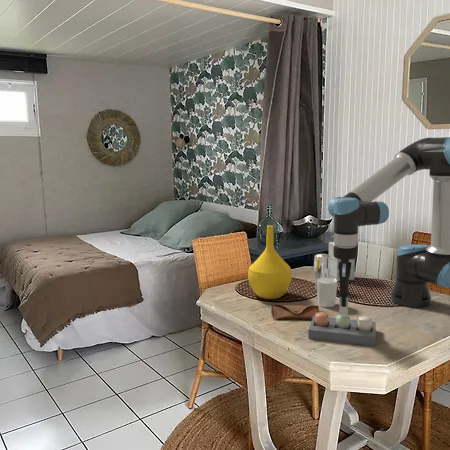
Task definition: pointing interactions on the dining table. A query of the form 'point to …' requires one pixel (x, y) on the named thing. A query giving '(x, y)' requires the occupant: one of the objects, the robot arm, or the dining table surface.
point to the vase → (269, 272)
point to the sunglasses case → (294, 312)
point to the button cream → (364, 323)
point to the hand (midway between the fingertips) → (343, 314)
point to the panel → (342, 333)
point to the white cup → (326, 291)
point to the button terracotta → (321, 319)
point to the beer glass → (321, 266)
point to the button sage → (342, 322)
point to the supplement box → (334, 265)
